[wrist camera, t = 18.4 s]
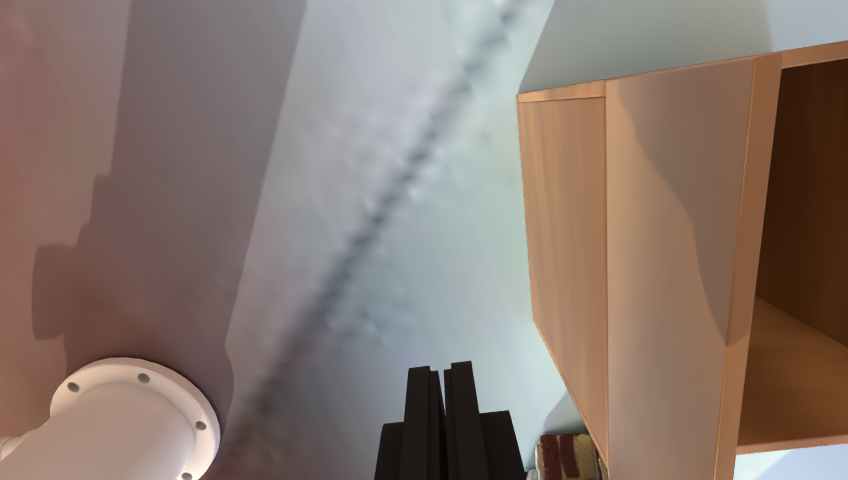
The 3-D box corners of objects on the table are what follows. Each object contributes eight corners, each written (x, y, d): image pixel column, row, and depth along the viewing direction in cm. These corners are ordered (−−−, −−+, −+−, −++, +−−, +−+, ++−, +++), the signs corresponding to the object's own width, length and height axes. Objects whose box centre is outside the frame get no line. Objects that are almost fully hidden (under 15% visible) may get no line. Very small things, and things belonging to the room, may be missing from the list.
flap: (616, 481, 16) (609, 481, 16) (616, 79, 11) (605, 81, 12) (700, 760, 9) (686, 758, 9) (784, 52, 5) (755, 57, 5)
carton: (532, 320, 29) (606, 469, 17) (516, 94, 24) (602, 79, 12) (747, 292, 28) (986, 429, 16) (774, 52, 23) (1142, -7, 11)
